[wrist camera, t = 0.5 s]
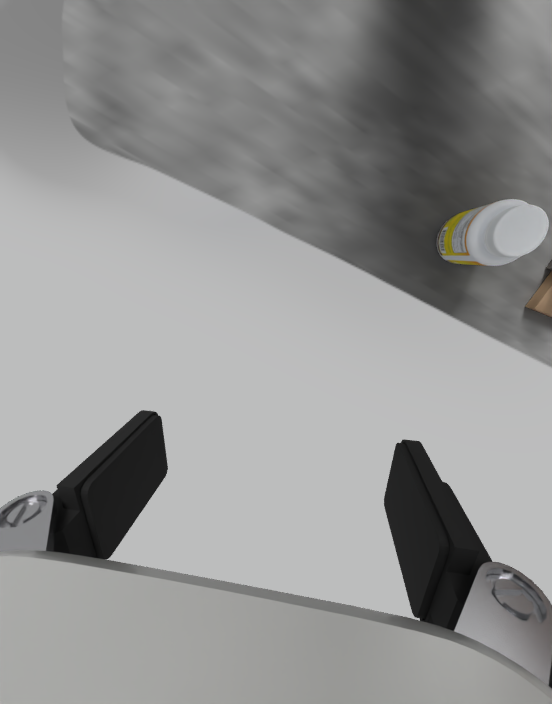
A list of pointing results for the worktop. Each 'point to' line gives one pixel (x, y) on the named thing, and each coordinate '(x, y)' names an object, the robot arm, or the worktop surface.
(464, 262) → the supplement bottle
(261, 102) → the worktop surface
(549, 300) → the shelf board
